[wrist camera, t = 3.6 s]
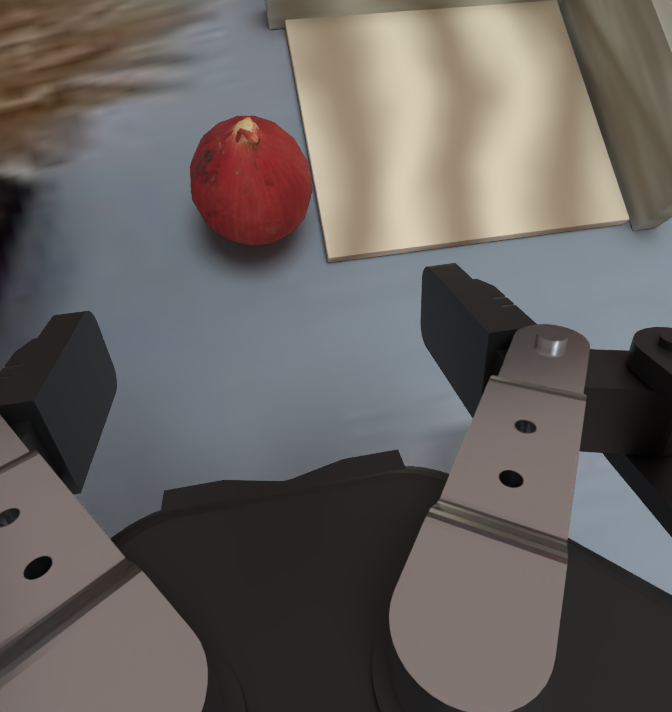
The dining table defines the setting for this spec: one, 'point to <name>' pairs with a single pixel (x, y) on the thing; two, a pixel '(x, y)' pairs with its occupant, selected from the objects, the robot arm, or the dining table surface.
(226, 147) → the pomegranate
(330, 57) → the tray
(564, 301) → the dining table surface
